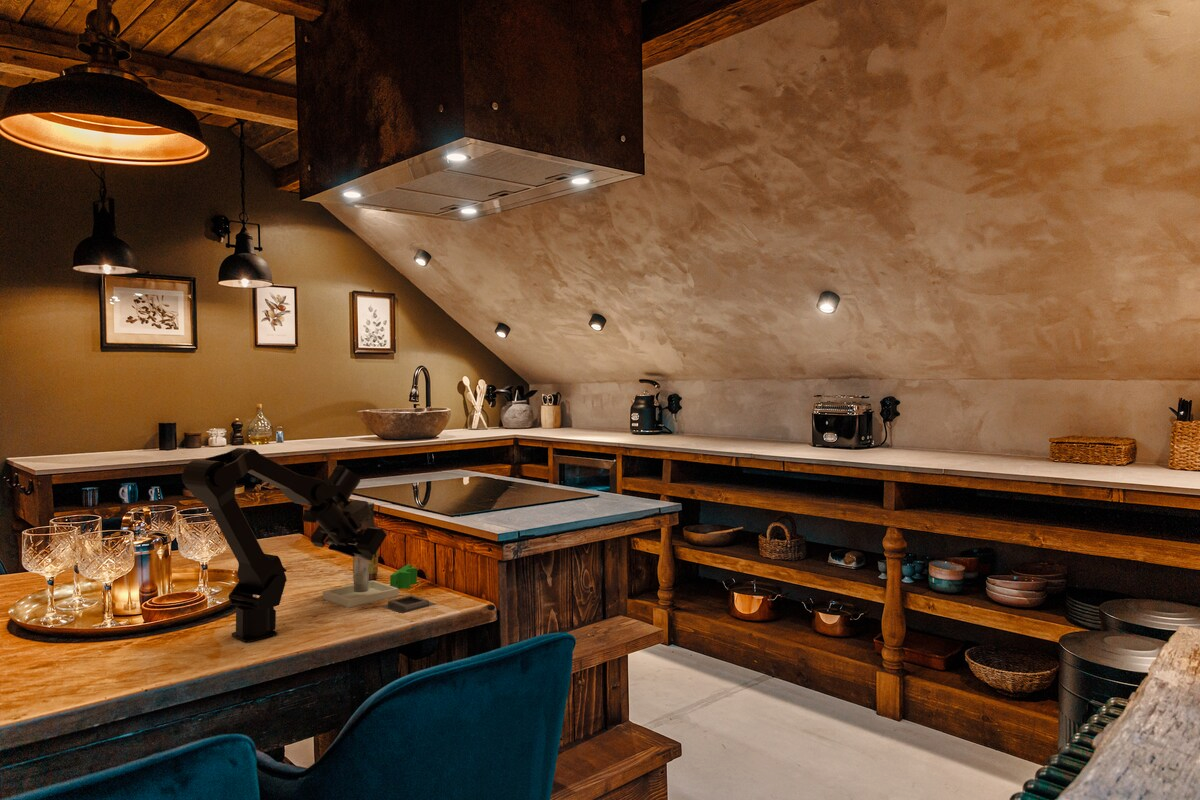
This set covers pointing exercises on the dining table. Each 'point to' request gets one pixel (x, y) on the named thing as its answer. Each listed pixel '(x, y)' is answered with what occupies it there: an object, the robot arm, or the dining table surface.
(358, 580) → the hitch pin
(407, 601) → the collar block
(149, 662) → the dining table surface
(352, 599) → the tray
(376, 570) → the sauce bottle
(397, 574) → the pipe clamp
